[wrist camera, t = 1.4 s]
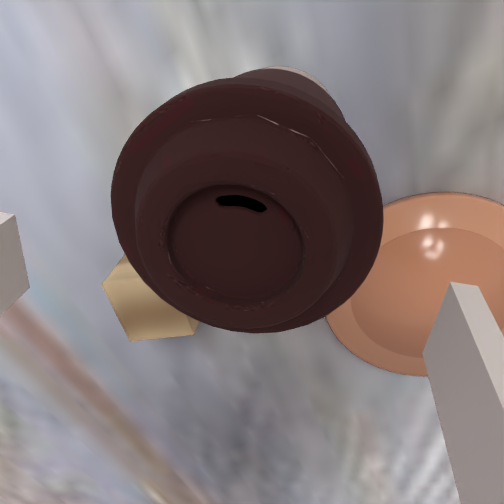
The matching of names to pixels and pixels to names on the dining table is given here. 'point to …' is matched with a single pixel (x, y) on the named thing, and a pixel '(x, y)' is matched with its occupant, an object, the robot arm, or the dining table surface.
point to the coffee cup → (249, 202)
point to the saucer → (422, 276)
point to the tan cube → (143, 307)
